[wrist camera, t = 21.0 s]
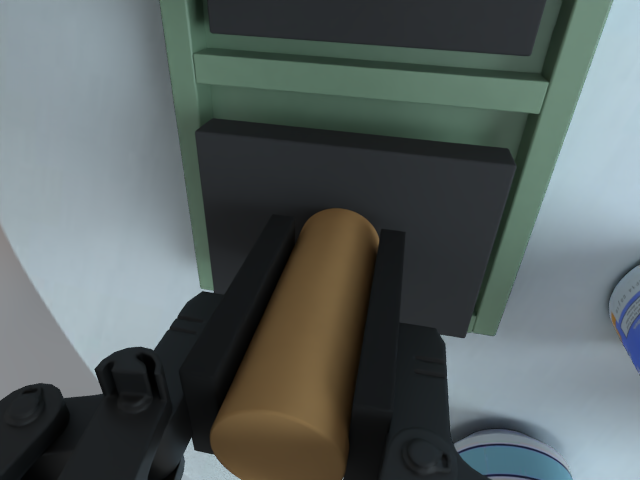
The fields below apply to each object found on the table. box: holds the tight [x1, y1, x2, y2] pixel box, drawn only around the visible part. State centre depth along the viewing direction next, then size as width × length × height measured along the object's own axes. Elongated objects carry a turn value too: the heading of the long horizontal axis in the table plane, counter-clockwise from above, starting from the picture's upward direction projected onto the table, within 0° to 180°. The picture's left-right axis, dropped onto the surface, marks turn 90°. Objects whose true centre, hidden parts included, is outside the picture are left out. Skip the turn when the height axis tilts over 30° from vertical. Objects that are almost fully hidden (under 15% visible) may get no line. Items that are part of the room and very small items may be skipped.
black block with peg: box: [195, 118, 517, 480], centre depth 13 cm, size 7×10×10 cm
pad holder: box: [159, 0, 613, 336], centre depth 15 cm, size 20×14×2 cm
